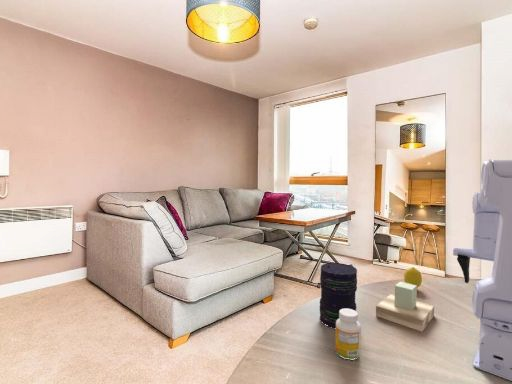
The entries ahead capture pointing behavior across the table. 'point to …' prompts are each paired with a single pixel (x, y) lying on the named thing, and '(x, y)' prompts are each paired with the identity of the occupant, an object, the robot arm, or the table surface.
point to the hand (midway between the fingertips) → (484, 285)
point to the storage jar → (336, 291)
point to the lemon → (413, 277)
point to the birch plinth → (405, 313)
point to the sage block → (405, 296)
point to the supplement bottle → (348, 334)
